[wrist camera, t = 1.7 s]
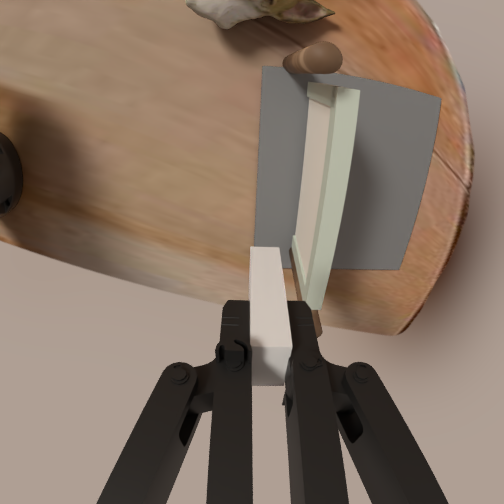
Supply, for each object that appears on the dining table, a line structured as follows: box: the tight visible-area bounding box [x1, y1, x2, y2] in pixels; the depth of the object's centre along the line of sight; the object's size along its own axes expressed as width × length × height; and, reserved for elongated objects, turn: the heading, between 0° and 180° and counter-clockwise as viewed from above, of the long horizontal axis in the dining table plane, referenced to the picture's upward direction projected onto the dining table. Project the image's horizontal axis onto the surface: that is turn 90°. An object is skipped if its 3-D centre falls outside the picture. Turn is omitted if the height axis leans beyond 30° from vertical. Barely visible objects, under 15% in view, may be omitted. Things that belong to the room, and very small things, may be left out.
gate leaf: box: [292, 82, 360, 310], centre depth 31 cm, size 22×2×12 cm, turn 178°
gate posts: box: [283, 42, 343, 338], centre depth 30 cm, size 2×28×16 cm, turn 3°
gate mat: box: [254, 66, 441, 270], centre depth 38 cm, size 24×28×1 cm
